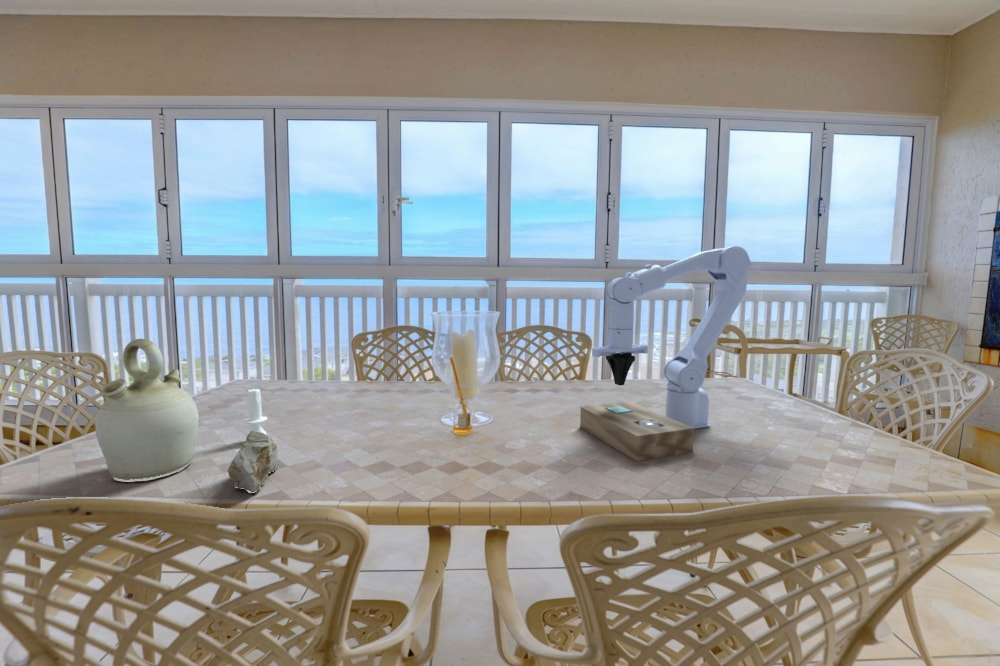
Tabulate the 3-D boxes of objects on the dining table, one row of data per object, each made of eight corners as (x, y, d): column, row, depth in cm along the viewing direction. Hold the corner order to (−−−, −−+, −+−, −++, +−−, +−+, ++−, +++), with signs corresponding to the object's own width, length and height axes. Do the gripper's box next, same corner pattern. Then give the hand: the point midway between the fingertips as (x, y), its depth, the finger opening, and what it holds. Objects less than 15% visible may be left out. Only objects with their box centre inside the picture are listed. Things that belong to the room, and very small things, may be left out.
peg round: (649, 441, 102) (650, 419, 101) (662, 447, 98) (663, 425, 98) (634, 443, 101) (635, 421, 100) (646, 450, 97) (647, 427, 96)
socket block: (629, 420, 117) (629, 401, 117) (693, 451, 97) (694, 428, 96) (580, 427, 112) (580, 406, 112) (636, 460, 92) (637, 436, 91)
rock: (245, 461, 89) (242, 418, 85) (281, 463, 90) (280, 421, 86) (216, 510, 78) (212, 463, 74) (258, 512, 79) (256, 466, 75)
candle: (274, 440, 104) (271, 387, 102) (248, 446, 100) (244, 391, 99) (264, 434, 108) (261, 383, 106) (239, 440, 104) (235, 387, 102)
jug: (122, 495, 78) (106, 347, 75) (86, 475, 86) (71, 340, 83) (217, 464, 90) (208, 336, 87) (179, 449, 99) (168, 331, 96)
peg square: (620, 426, 112) (621, 406, 112) (630, 431, 108) (631, 410, 108) (606, 428, 111) (606, 408, 110) (615, 433, 107) (616, 412, 106)
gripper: (635, 325, 117) (634, 378, 119) (585, 328, 112) (584, 383, 114) (654, 328, 111) (652, 384, 112) (602, 331, 105) (600, 389, 107)
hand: (619, 384), depth 112 cm, fingers closed
